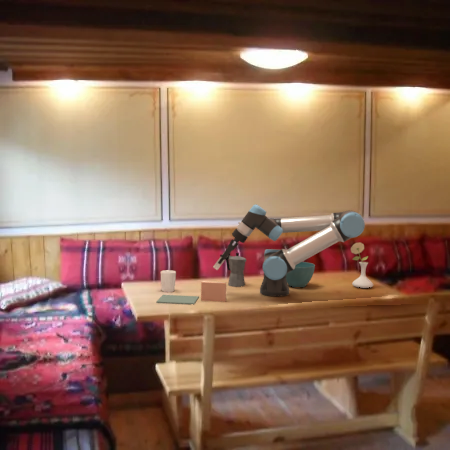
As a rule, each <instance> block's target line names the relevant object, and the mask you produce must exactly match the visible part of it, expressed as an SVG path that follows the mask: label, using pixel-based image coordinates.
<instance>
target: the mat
mask: <svg viewBox="0 0 450 450" xmlns="http://www.w3.org/2000/svg"><path fill="white" fill-rule="evenodd" d="M198 299H199V295H178V294H177V295H175V294H162V295H161V296H160V297H159V298H158V299H157V300H156V304H175V305H176V304H177V305H191V304H193V305H195V304H196V302H197V301H198Z"/></svg>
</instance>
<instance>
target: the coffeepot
mask: <svg viewBox="0 0 450 450" xmlns="http://www.w3.org/2000/svg"><path fill="white" fill-rule="evenodd" d="M239 254H240V253H239V252H236V253H235V256H232V255H230V256H229V255H228V257H227V258H226V259H225V263H226V267H227V270H228V271H230V272H229V273H230V274H229V277H228V284H227V285H228V286H229V287H231V288H232V287H233V288H241V286H242V287H245V286H246V282H245V276H244V271H245V266H246V262H247V258H245V257H243V256H240V255H239Z"/></svg>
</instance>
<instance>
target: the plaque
mask: <svg viewBox="0 0 450 450" xmlns="http://www.w3.org/2000/svg"><path fill="white" fill-rule="evenodd" d="M200 300H201V301H204V302H206V301H207V302H223V303H224V302H226V301H227V282H224V281H223V282H221V281H203V280H202V281H201V284H200Z"/></svg>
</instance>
